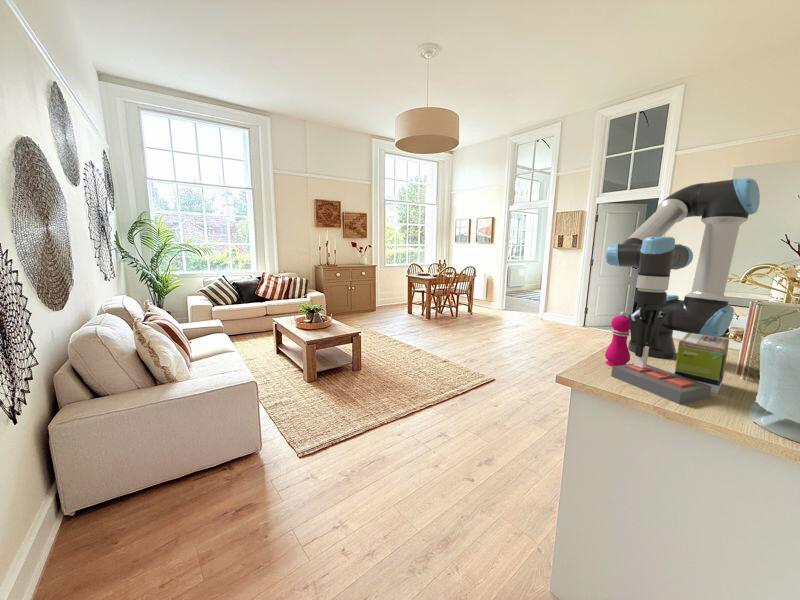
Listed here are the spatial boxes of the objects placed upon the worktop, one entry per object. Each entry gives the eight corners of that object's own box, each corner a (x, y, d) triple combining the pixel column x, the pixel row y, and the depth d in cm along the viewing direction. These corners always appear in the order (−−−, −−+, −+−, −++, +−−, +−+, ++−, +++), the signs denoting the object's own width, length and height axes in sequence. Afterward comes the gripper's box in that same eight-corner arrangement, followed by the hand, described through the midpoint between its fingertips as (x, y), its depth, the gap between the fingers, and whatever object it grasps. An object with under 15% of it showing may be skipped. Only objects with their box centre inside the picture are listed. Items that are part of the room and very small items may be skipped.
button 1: (637, 375, 104) (639, 364, 104) (650, 379, 101) (652, 368, 100) (626, 377, 102) (627, 365, 102) (638, 381, 99) (640, 370, 98)
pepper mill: (632, 373, 109) (640, 314, 106) (608, 371, 111) (616, 313, 108) (622, 365, 116) (630, 310, 113) (600, 363, 118) (607, 308, 114)
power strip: (619, 368, 114) (621, 355, 113) (708, 401, 90) (711, 386, 89) (592, 372, 109) (594, 359, 109) (678, 408, 86) (680, 392, 85)
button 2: (656, 382, 99) (657, 370, 98) (669, 387, 96) (671, 375, 95) (644, 384, 97) (645, 372, 97) (657, 389, 94) (659, 377, 93)
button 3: (676, 389, 94) (678, 377, 93) (691, 395, 90) (694, 382, 90) (664, 392, 92) (666, 379, 92) (679, 398, 89) (681, 385, 88)
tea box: (680, 374, 109) (688, 331, 107) (722, 384, 102) (731, 338, 99) (671, 386, 99) (679, 339, 97) (716, 398, 92) (726, 348, 89)
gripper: (653, 287, 103) (642, 360, 107) (622, 289, 98) (612, 364, 102) (680, 291, 96) (667, 368, 100) (649, 292, 91) (637, 373, 95)
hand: (639, 366), depth 101 cm, fingers closed
